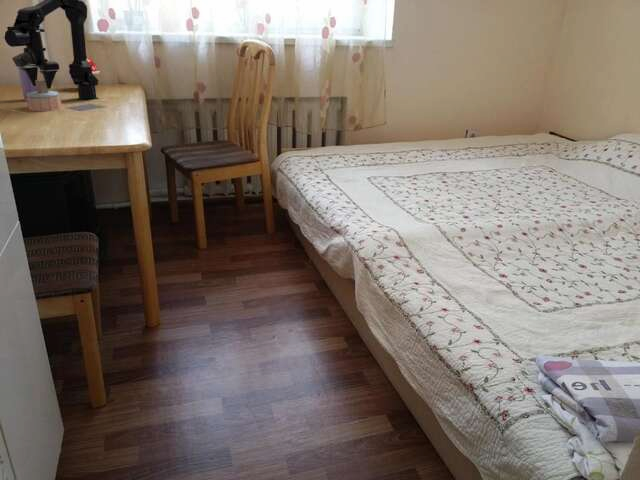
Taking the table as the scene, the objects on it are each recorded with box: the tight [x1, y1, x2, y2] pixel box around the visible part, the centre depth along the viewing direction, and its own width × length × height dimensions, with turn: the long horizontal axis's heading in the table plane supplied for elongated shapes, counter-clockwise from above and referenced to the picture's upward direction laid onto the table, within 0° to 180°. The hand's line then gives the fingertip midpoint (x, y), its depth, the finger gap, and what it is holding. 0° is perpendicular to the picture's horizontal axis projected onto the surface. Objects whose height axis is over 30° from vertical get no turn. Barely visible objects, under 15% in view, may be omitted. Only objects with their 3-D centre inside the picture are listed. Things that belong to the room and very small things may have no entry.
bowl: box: [26, 94, 63, 112], centre depth 210 cm, size 12×12×5 cm
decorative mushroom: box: [68, 57, 101, 88], centre depth 253 cm, size 14×14×15 cm
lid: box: [27, 79, 60, 98], centre depth 207 cm, size 11×11×6 cm
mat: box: [65, 103, 106, 112], centre depth 214 cm, size 12×10×1 cm
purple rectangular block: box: [17, 66, 37, 102], centre depth 224 cm, size 6×6×15 cm
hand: (41, 87), depth 207 cm, fingers open, 9 cm apart
